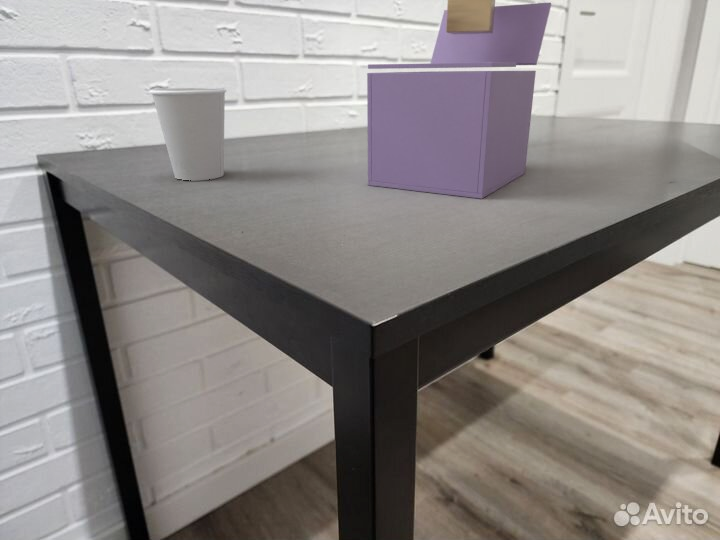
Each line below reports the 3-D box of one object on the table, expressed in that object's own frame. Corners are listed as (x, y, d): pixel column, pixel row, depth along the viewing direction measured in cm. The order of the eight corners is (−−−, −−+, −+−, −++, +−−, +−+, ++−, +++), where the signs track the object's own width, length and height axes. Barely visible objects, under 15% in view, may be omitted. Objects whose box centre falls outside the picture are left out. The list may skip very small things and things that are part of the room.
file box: (426, 164, 68) (430, 64, 64) (525, 173, 62) (536, 62, 57) (367, 185, 56) (366, 64, 52) (482, 199, 50) (492, 62, 45)
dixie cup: (189, 168, 67) (178, 87, 63) (246, 171, 65) (239, 87, 61) (147, 181, 59) (132, 90, 56) (211, 184, 57) (200, 90, 54)
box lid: (429, 64, 63) (430, 66, 64) (535, 63, 57) (536, 65, 57) (444, 9, 64) (445, 11, 64) (551, 2, 58) (551, 4, 58)
